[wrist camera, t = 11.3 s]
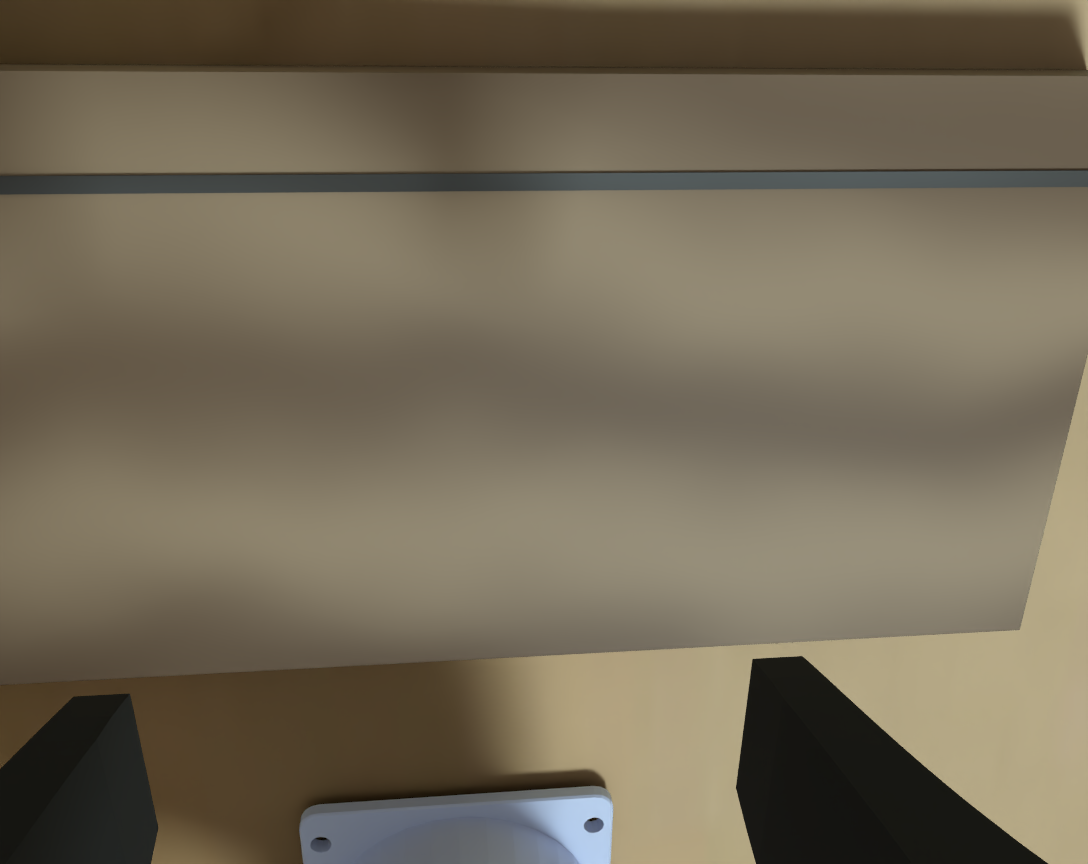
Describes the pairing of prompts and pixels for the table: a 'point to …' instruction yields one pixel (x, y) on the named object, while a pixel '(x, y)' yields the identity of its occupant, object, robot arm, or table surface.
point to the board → (526, 358)
